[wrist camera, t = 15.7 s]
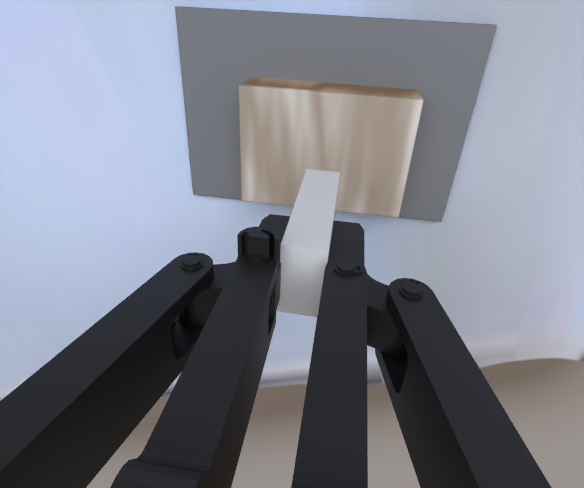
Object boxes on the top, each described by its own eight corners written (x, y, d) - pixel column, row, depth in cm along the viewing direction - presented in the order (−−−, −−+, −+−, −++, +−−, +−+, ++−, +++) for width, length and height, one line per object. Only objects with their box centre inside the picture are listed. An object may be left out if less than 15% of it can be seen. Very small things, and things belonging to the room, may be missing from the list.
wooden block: (241, 200, 26) (398, 217, 24) (238, 85, 22) (423, 100, 21) (252, 182, 28) (395, 197, 27) (251, 77, 24) (416, 89, 23)
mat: (196, 191, 30) (193, 194, 29) (179, 6, 23) (175, 6, 23) (440, 217, 28) (441, 221, 27) (493, 24, 22) (497, 25, 21)
